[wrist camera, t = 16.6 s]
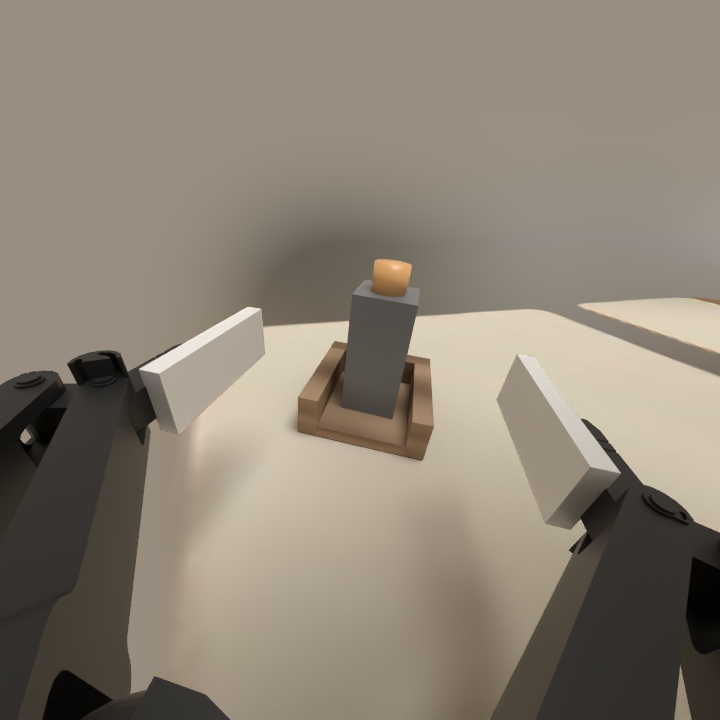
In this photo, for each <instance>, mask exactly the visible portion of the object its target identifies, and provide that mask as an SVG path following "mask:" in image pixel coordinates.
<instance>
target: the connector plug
mask: <svg viewBox="0 0 720 720" xmlns="http://www.w3.org/2000/svg"><path fill="white" fill-rule="evenodd" d="M411 268H412V265H410V264H408V263H405V262H401V261H395V260H388V259H379V260H376V261H375V266H374V273H373V280H372V281H370V280H364V282H363V283H362V284H361V285H360V286H359V287H358V288H357V289H356V291H355V292H354V293H353V294H352V301H351V312H350V321H349V332H348V342H347V352H346V362H345V373H344V383H343V393H342V404H341V408H345V409H350V410H354V411H358V412H363V413H367V414H371V415H375V416H380V417H384V418H388V419H393V415H394V410H395V406H396V402H397V397H398V393H399V388H400V384H401V379H402V375H403V371H404V366H405V362H406V357H407V353H408V349H409V344H410V340H411V335H412V331H413V326H414V322H415V318H416V313H417V309H418V303H419V293H420V289H418V288H412V287H408V283H409V278H410V273H411Z"/></svg>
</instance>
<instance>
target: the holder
mask: <svg viewBox="0 0 720 720" xmlns="http://www.w3.org/2000/svg"><path fill="white" fill-rule="evenodd" d="M346 352H347V343H342V342H337V341H335V342H334V343H333V345H332V346H331V348H330V349H329V351H328V352H327V354H326V355H325V357H324V358H323V360H322V361H321V363H320V365H319V366H318V368H317V369H316V371H315V372H314V374H313V375H312V377H311V378H310V380H309V381H308V383H307V385H306V386H305V388H304V389H303V391H302V392H301V394H300V395H299V397H298V432H302V433H306V434H311V435H315V436H319V437H324V438H328V439H332V440H337V441H341V442H345V443H350V444H354V445H358V446H363V447H367V448H371V449H376V450H380V451H384V452H389V453H393V454H397V455H401V456H406V457H410V458H414V459H419V460H423V457H424V454H425V451H426V448H427V445H428V442H429V439H430V436H431V433H432V430H433V427H434V423H433V405H432V388H431V371H430V359H426V358H421V357H416V356H411V355H407V357H406V362H405V366H404V371H403V375H402V379H401V384H400V388H399V393H398V397H397V402H396V406H395V410H394V415H393V419H388V418H384V417H380V416H375V415H371V414H367V413H363V412H358V411H354V410H350V409H345V408H341V404H342V393H343V383H344V373H345V362H346Z"/></svg>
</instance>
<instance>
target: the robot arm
mask: <svg viewBox="0 0 720 720" xmlns="http://www.w3.org/2000/svg"><path fill="white" fill-rule="evenodd" d="M264 354H265V347H264V335H263V323H262V312H261V309H258V308H252V307H247V308H245V309H244V310H242V311H240V312H238V313H236V314H235V315H233V316H231V317H229V318H228V319H226V320H224V321H222V322H221V323H219V324H217V325H215V326H213V327H212V328H210V329H208V330H207V331H205V332H203V333H201V334H199V335H198V336H196V337H194V338H192V339H191V340H189V341H187V342H185V343H182V344H179V345H176V346H173V347H172V348H170V349H168V350H166V351H165V352H164V353H161V354H159V355H157V356H156V358H152V359H150V360H148V361H147V362H145V363H143V364H142V365H139V366H138V367H136V368H134V369H132V370H130V371H129V372H127V369H126V367H125V364H124V362H123V359H122V356H121V354H120V353H118V352H116V351H96V352H90V353H87V354H84V355H81V356H78V357H76V358H74V359H72V360H71V361H70V362H69V363H68V366H69V368H70V370H71V372H72V374H73V376H74V378H75V380H76V382H77V384H63V382H62V380H61V379H60V376H59V375H58V373H56V372H53V371H38V372H36V371H35V372H29V373H25V374H21V375H20V376H18V377H15V378H12V379H10V380H8V381H6V382H5V383H3V384H2V385H0V720H230V719H229V718H228V717H227V716H226V715H225V714H224V713H223V712H222V711H221V710H220V709H219V708H218V707H217V706H216V705H215V704H214V703H213V702H212V701H211V700H210V699H209V698H208V697H207V696H206V695H205V694H202V693H200V692H197V691H194V690H191V689H189V688H186V687H183V686H180V685H178V684H175V683H172V682H169V681H166V680H164V679H161V678H158V677H155V676H154V678H153V680H152V682H151V683H150V685H149V687H148V689H147V690H145V691H140V692H136V693H132V694H130V690H131V664H130V659H129V654H128V649H127V633H128V624H129V616H130V607H131V598H132V589H133V580H134V571H135V563H136V555H137V546H138V537H139V528H140V519H141V511H142V502H143V494H144V485H145V475H146V467H147V459H148V450H149V441H150V428H149V426H148V424H149V423H151V422H152V421H153V420H155V419H157V422H158V424H159V427H160V430H162V431H166V432H171V433H175V434H180V433H181V432H182V431H183V430H184V429H185V428H186V427H187V426H188V425H189V424H190V423H191V422H193V421H194V420H195V419H196V418H197V417H198V416H199V415H200V414H201V413H202V412H203V411H204V410H205V409H206V408H208V407H209V406H210V405H211V404H212V403H213V402H214V401H215V400H216V399H217V398H218V397H219V396H220V395H221V394H223V393H224V392H225V391H226V390H227V389H228V388H229V387H230V386H231V385H232V384H233V383H234V382H235V381H237V380H238V379H239V378H240V377H241V376H242V375H243V374H244V373H245V372H246V371H247V370H248V369H249V368H250V367H252V366H253V365H254V364H255V363H256V362H257V361H258V360H259V359H260V358H261V357H262V356H263V355H264ZM497 402H498V404H499V407H500V409H501V412H502V414H503V417H504V420H505V422H506V425H507V427H508V430H509V432H510V435H511V437H512V440H513V443H514V445H515V448H516V450H517V453H518V455H519V458H520V460H521V463H522V466H523V468H524V471H525V473H526V476H527V478H528V481H529V484H530V486H531V489H532V491H533V494H534V496H535V499H536V501H537V504H538V507H539V509H540V512H541V514H542V517H543V519H544V522H545V524H549V525H553V526H557V527H561V528H565V529H570V530H571V529H572V528H573V526H574V525H575V524H576V523H577V522H578V521H579V520H580V519H581V520H582V522H583V524H584V526H585V528H586V530H587V532H586V533H585V534H584V535H583V536H582V537H581V538H580V539H579V540H578V541H577V542H576V543H575V544H574V545H573V546H572V547H571V548H570V550H569V551H570V552H572V553H573V555H572V557H571V559H570V561H569V563H568V565H567V567H566V569H565V571H564V573H563V575H562V577H561V579H560V581H559V583H558V585H557V587H556V589H555V591H554V593H553V595H552V597H551V599H550V601H549V603H548V605H547V607H546V609H545V611H544V613H543V615H542V617H541V619H540V621H539V623H538V625H537V627H536V629H535V631H534V633H533V635H532V637H531V639H530V641H529V643H528V645H527V647H526V649H525V651H524V653H523V655H522V657H521V659H520V661H519V663H518V665H517V667H516V669H515V671H514V673H513V675H512V677H511V679H510V681H509V683H508V685H507V687H506V689H505V691H504V693H503V695H502V697H501V699H500V701H499V703H498V705H497V707H496V709H495V711H494V713H493V715H492V717H491V719H490V720H674V715H675V706H676V697H677V688H678V679H679V670H680V664H681V669H682V674H683V679H684V684H685V689H686V694H687V699H688V704H689V708H690V713H691V718H692V720H720V533H719V532H717V531H714V530H712V529H710V528H707V527H705V526H703V525H700V524H698V523H696V522H694V520H693V518H692V517H691V516H690V514H689V513H688V512H687V511H686V510H685V509H684V508H683V507H682V506H681V505H680V504H679V503H677V502H676V501H675V500H673V499H672V498H670V497H669V496H667V495H666V494H664V493H663V492H661V491H658V490H656V489H654V488H652V487H649V486H646V485H643V484H642V483H641V481H640V480H639V479H638V478H637V476H636V475H635V474H634V473H633V471H632V470H631V469H630V468H629V466H628V465H627V464H626V463H625V461H624V460H623V459H622V458H621V456H620V455H619V454H618V453H616V450H615V449H614V448H613V446H612V445H611V444H609V443H608V442H609V441H608V440H607V439H606V438H605V436H604V435H603V434H602V433H601V431H600V430H599V429H597V428H596V427H595V426H594V425H592V424H591V423H590V422H589V421H587V420H585V419H580V418H579V417H578V415H577V414H576V413H575V411H574V410H573V409H572V407H571V406H570V405H569V403H568V402H567V401H566V399H565V398H564V397H563V395H562V394H561V393H560V391H559V390H558V389H557V387H556V386H555V385H554V383H553V382H552V381H551V379H550V378H549V377H548V375H547V374H546V373H545V371H544V370H543V369H542V367H541V366H540V365H539V363H538V362H537V361H536V359H535V358H534V357H531V356H525V355H520V354H517V355H516V357H515V360H514V362H513V364H512V366H511V369H510V371H509V373H508V375H507V377H506V380H505V382H504V384H503V386H502V388H501V391H500V393H499V395H498V397H497ZM24 429H26V430H27V431H28V433H29V434H30V436H31V439H29V441H28V442H27V443H25V444H24V443H23V442H22V441H21V440H20V436H21V434H22V432H23V431H24Z"/></svg>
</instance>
